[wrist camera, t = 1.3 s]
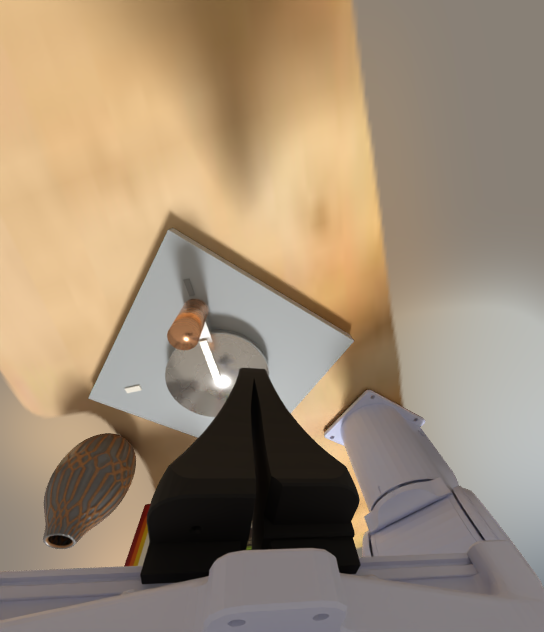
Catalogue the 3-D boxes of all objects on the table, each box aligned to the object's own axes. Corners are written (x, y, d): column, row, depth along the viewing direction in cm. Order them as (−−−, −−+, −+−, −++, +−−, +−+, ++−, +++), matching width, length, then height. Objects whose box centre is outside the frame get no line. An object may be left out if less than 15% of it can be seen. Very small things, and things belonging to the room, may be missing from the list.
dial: (276, 397, 25) (281, 436, 21) (188, 416, 25) (177, 458, 21) (247, 285, 20) (247, 308, 16) (137, 310, 20) (108, 339, 16)
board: (349, 334, 24) (354, 341, 23) (251, 447, 30) (251, 457, 29) (172, 227, 19) (167, 230, 18) (95, 389, 25) (87, 399, 24)
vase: (66, 428, 27) (-11, 526, 19) (131, 418, 27) (82, 511, 19) (94, 469, 30) (38, 568, 22) (152, 460, 30) (118, 555, 22)
